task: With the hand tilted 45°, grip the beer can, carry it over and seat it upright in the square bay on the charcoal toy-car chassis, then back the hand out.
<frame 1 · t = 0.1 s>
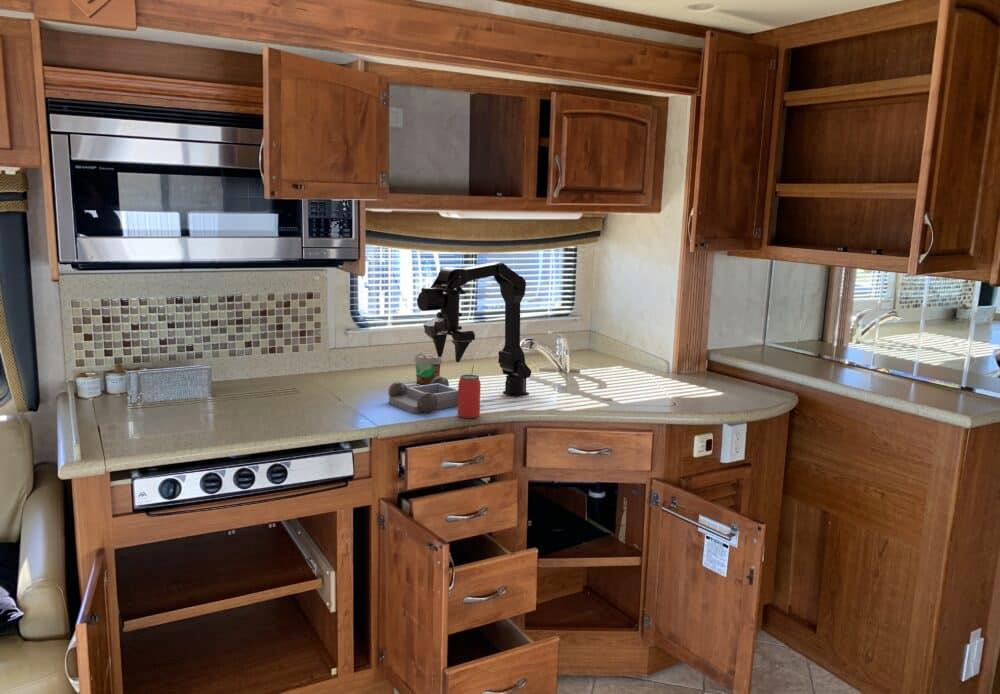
hand: (448, 359, 242), 15 cm above the worktop, tool pointing down, fingers open, 9 cm apart
chassis: (433, 403, 247), on the worktop
beer can: (468, 416, 234), on the worktop
food container: (423, 384, 272), on the worktop
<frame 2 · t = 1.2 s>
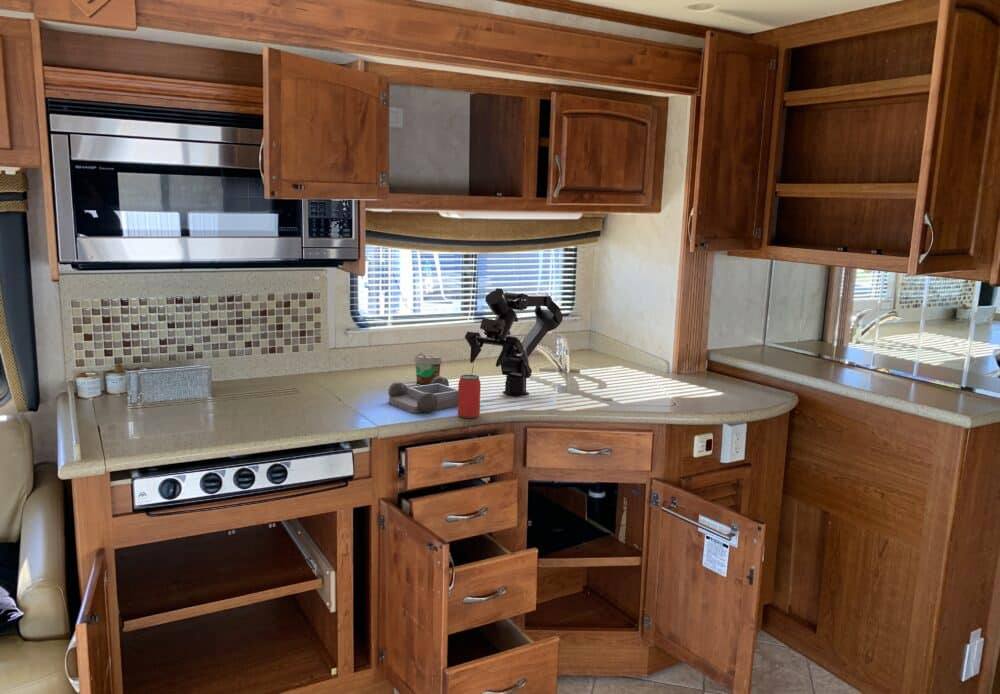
hand: (483, 364, 243), 13 cm above the worktop, tool tilted 45°, fingers open, 9 cm apart
nothing on the worktop moved.
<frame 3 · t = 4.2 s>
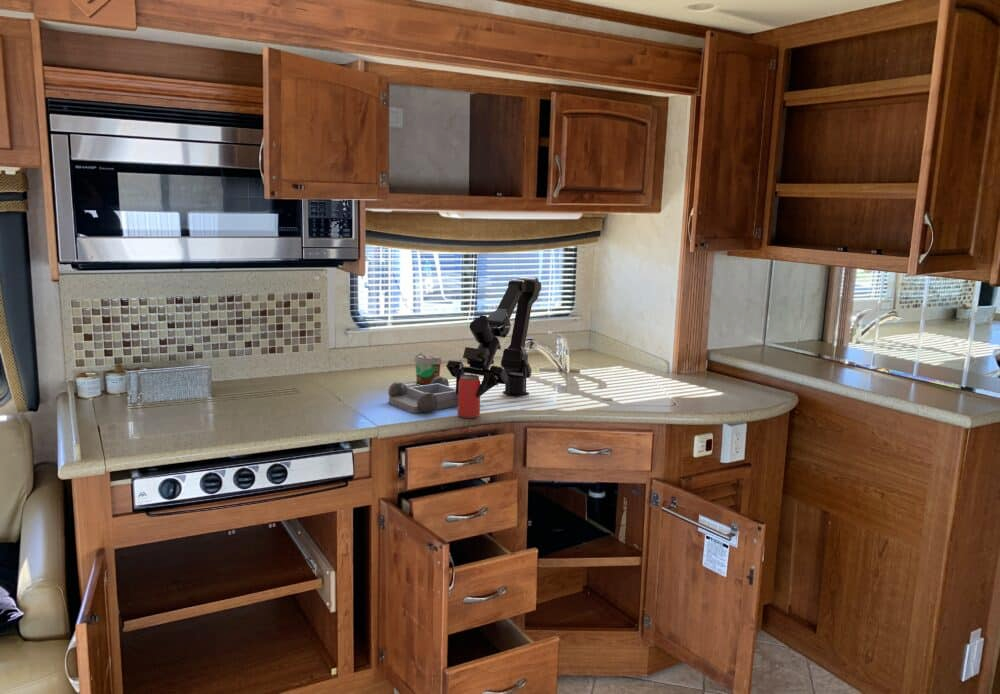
hand: (466, 395, 231), 7 cm above the worktop, tool tilted 45°, fingers closed on beer can, 7 cm apart
beer can: (468, 416, 234), on the worktop, touching gripper
everything else where it was.
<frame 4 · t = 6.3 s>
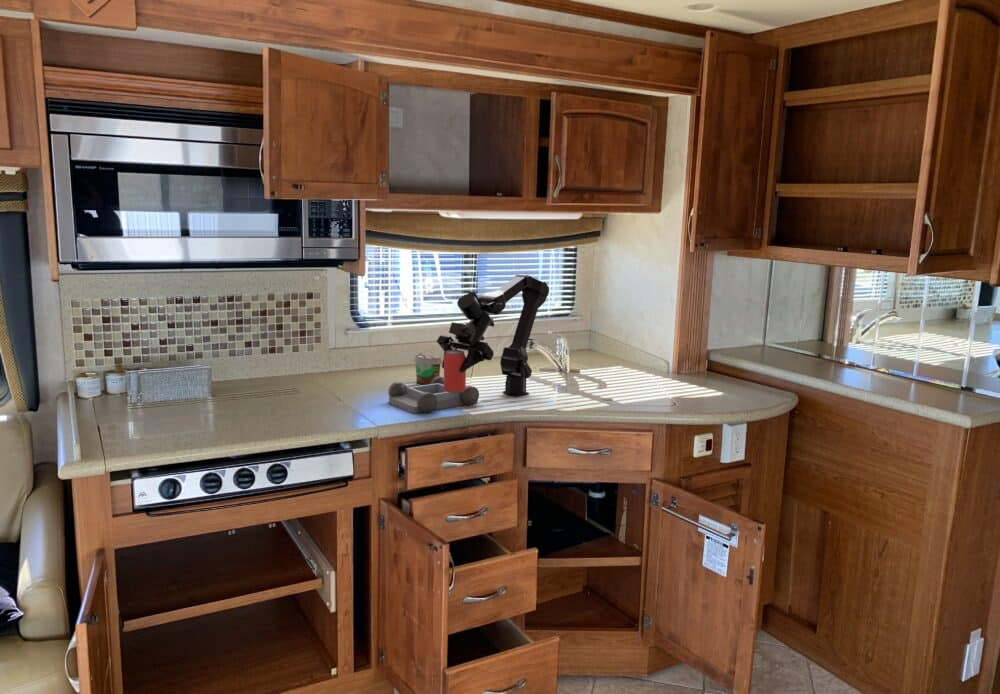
hand: (451, 369, 234), 13 cm above the worktop, tool tilted 45°, fingers closed on beer can, 7 cm apart
beer can: (454, 391, 237), point 6 cm above the worktop, touching gripper
everything else where it was.
when the fingers open (10 cm above the worktop, at t = 8.5 s): beer can drops 1 cm, resting on chassis.
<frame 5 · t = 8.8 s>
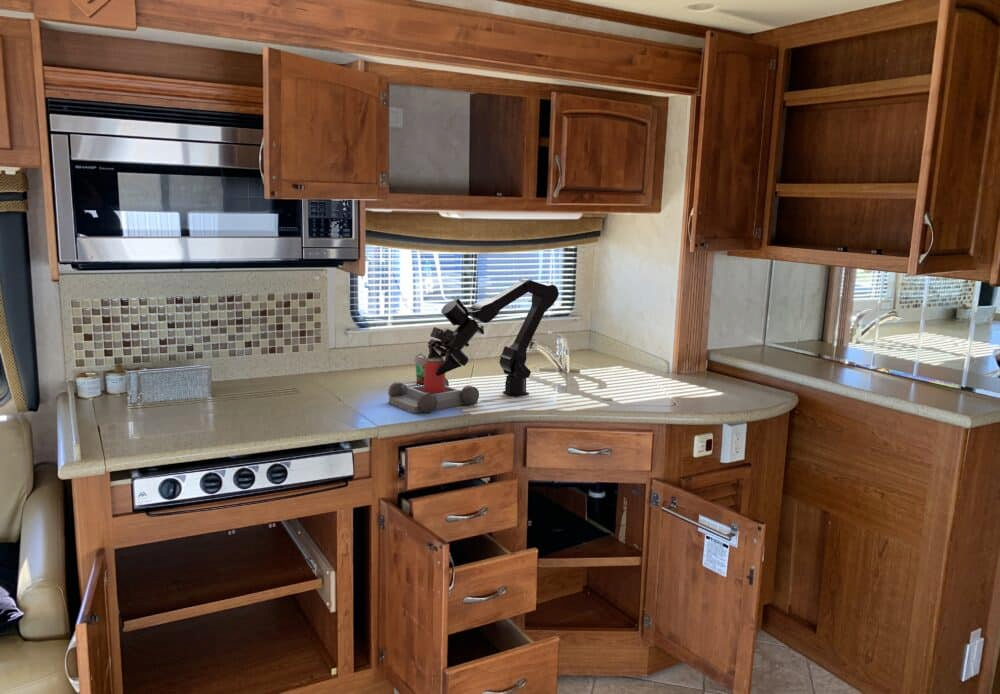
hand: (430, 372, 245), 10 cm above the worktop, tool tilted 45°, fingers open, 9 cm apart
beer can: (434, 397, 247), point 2 cm above the worktop, touching chassis
everything else where it was.
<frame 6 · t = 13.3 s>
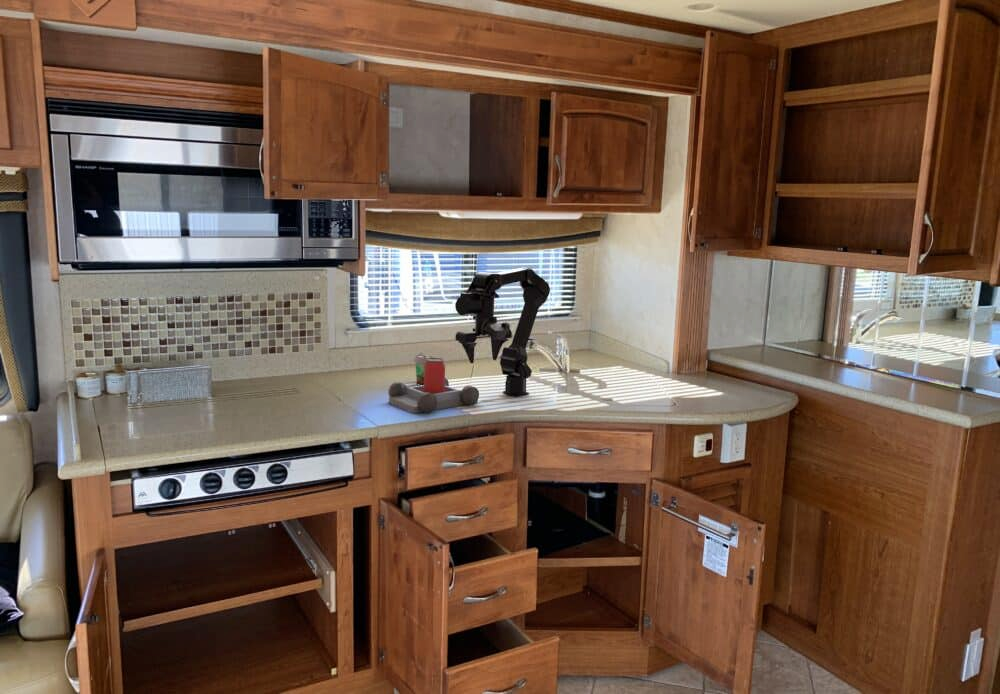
hand: (483, 361, 249), 13 cm above the worktop, tool pointing down, fingers open, 9 cm apart
nothing on the worktop moved.
at the end: beer can 0.2 cm off-centre on the chassis, point 1.8 cm above the chassis's base; beer can tilted 0°; the gripper is holding nothing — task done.
